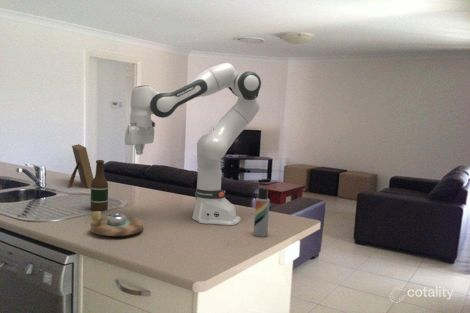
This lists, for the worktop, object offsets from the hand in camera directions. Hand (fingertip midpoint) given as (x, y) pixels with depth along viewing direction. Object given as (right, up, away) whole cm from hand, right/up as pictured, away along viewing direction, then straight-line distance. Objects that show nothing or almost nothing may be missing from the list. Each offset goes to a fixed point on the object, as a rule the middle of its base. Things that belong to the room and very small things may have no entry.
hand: (139, 154), depth 172 cm
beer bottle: (-23, -27, +16) cm, 39 cm away
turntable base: (-5, -31, -17) cm, 35 cm away
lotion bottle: (+53, -34, -10) cm, 63 cm away
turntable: (-4, -29, -17) cm, 34 cm away
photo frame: (-55, -19, +72) cm, 92 cm away
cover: (-5, -27, -18) cm, 33 cm away
